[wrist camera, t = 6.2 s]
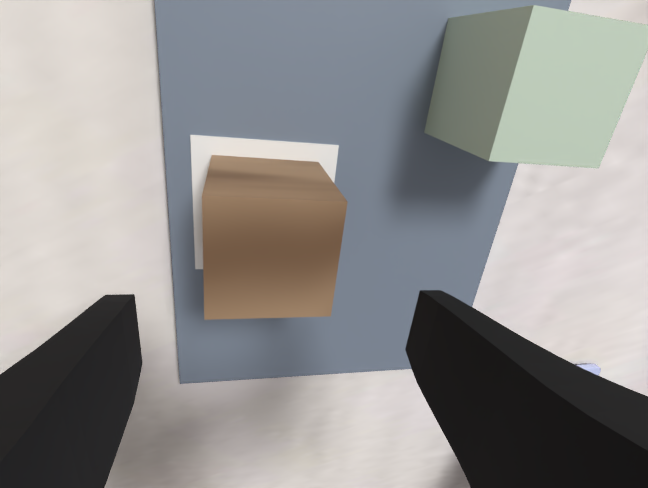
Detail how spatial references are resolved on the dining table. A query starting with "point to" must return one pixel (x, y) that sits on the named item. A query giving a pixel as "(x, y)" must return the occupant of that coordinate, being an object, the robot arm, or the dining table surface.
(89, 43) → the dining table surface
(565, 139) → the sage block
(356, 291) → the grey mat
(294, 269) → the walnut block
